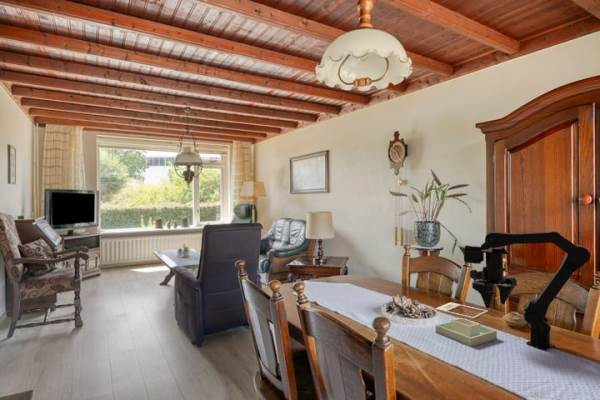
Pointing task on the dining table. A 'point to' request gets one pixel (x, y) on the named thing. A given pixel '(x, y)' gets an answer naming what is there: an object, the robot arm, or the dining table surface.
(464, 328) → the small crate
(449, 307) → the photo frame
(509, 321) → the pottery oil lamp
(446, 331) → the green tray
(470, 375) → the dining table surface
